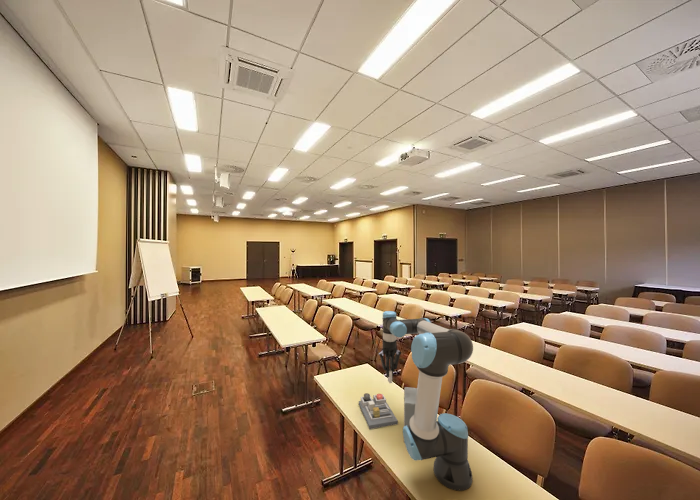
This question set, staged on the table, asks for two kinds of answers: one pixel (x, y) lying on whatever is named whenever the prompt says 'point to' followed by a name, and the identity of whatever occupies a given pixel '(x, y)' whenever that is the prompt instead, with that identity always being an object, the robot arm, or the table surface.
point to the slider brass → (376, 412)
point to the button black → (366, 397)
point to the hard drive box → (409, 404)
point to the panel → (385, 413)
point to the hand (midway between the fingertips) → (389, 381)
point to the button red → (379, 396)
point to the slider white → (371, 405)
